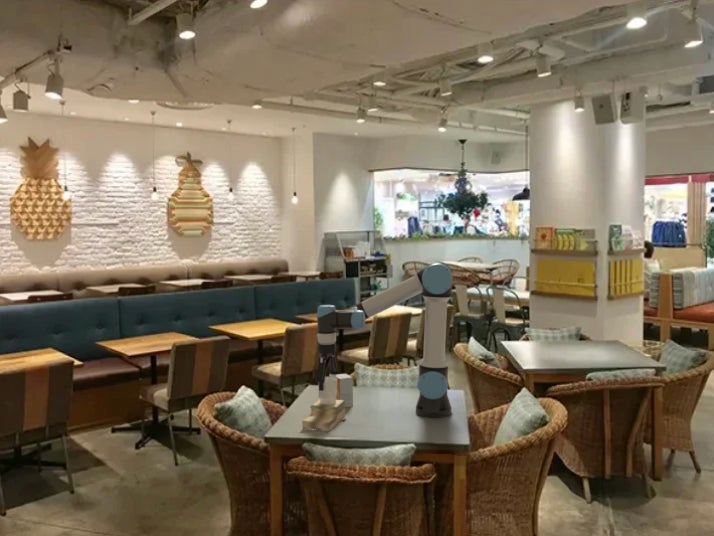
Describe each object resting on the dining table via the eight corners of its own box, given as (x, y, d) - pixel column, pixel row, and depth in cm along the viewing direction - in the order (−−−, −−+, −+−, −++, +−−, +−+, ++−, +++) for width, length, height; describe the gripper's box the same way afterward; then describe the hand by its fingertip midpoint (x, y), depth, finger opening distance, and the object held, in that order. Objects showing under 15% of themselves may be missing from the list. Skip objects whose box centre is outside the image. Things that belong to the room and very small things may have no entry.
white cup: (335, 405, 264) (334, 381, 263) (316, 404, 265) (315, 380, 265) (339, 400, 271) (339, 376, 271) (321, 399, 273) (320, 376, 272)
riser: (349, 416, 272) (348, 400, 271) (333, 432, 253) (333, 414, 252) (319, 414, 276) (319, 398, 275) (302, 429, 256) (301, 411, 256)
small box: (333, 403, 293) (333, 374, 292) (346, 401, 295) (346, 373, 294) (340, 407, 285) (339, 378, 284) (353, 406, 288) (353, 377, 287)
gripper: (328, 337, 280) (329, 385, 281) (307, 348, 256) (308, 401, 257) (344, 337, 278) (345, 386, 279) (325, 349, 254) (326, 402, 255)
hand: (327, 393), depth 268 cm, fingers open, 13 cm apart
